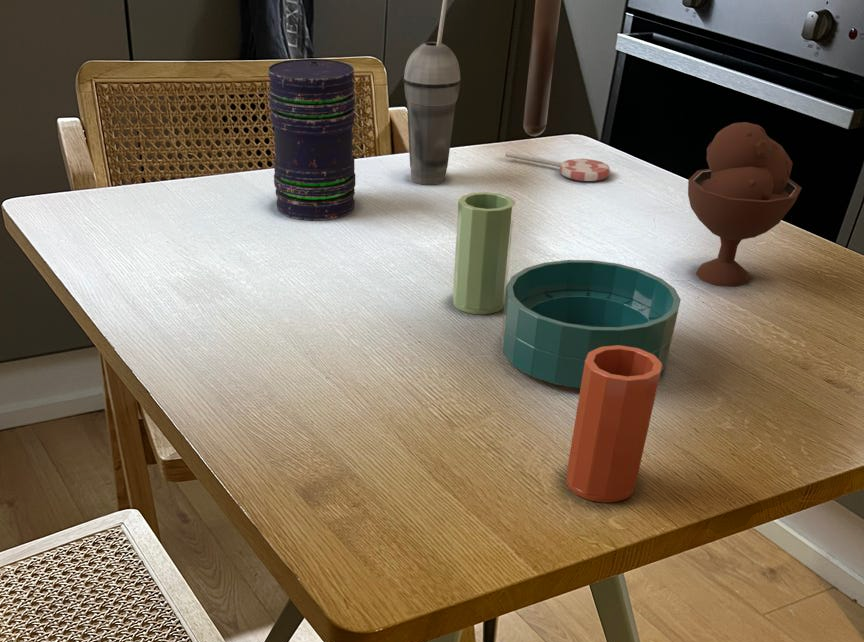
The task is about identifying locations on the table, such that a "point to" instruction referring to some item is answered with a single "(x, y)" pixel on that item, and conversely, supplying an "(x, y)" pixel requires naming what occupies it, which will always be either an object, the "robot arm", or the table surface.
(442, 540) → the table surface
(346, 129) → the storage jar
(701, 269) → the ice cream bowl
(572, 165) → the lollipop
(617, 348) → the utensil cup
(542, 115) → the stirring stick
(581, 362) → the mixing bowl
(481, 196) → the rinse cup
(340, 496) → the table surface
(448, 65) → the beverage cup
